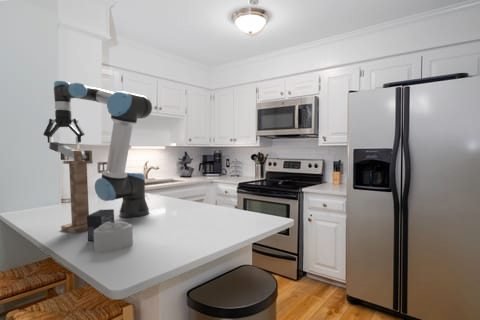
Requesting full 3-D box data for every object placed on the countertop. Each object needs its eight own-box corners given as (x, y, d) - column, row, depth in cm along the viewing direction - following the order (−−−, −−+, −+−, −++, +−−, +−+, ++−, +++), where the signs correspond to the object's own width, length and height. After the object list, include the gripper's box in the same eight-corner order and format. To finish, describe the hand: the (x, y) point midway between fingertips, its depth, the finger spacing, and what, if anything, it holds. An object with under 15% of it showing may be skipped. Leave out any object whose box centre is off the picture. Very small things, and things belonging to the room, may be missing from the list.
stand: (60, 230, 125) (56, 150, 123) (84, 223, 135) (80, 150, 133) (77, 233, 120) (73, 150, 118) (100, 226, 129) (97, 150, 127)
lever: (48, 148, 133) (49, 141, 132) (55, 148, 136) (56, 142, 135) (81, 161, 122) (82, 154, 121) (88, 160, 125) (89, 154, 124)
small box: (100, 232, 121) (100, 209, 120) (115, 232, 120) (114, 209, 120) (86, 241, 110) (85, 215, 109) (102, 241, 110) (101, 215, 109)
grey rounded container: (136, 243, 107) (135, 221, 106) (103, 254, 96) (102, 230, 96) (120, 238, 113) (120, 217, 112) (88, 248, 102) (87, 225, 102)
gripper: (89, 111, 159) (91, 148, 160) (42, 110, 155) (44, 148, 156) (84, 109, 151) (85, 148, 152) (34, 109, 148) (36, 148, 149)
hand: (64, 148), depth 154 cm, fingers open, 13 cm apart
